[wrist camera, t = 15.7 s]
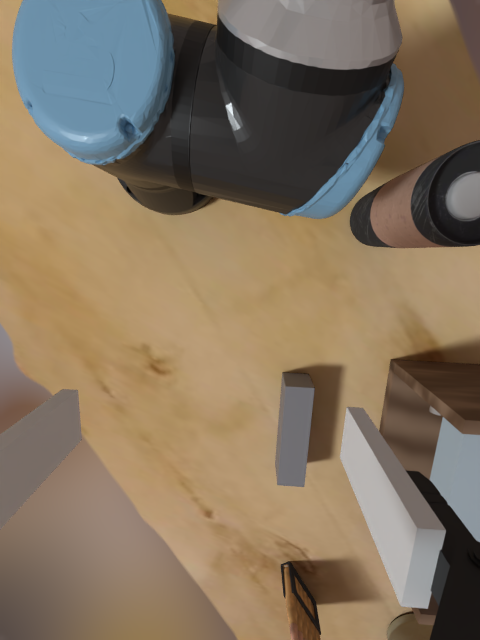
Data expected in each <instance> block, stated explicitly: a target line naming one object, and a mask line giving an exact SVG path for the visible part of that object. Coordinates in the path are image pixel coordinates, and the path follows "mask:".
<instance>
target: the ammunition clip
mask: <svg viewBox="0 0 480 640" xmlns="http://www.w3.org/2000/svg"><path fill="white" fill-rule="evenodd" d="M281 573H282V583H283V594H284V597H285V599H286V608H287V616H288V620H289V627H290V634H291V639H292V640H320V635H321V631H320V624H319V618H318V612H317V606H316V601H315V600H314V598H313V597H312V595H311V594H310V592H309V590H308V589H307V587H306V586H305V584H304V583H303V581H302V580H301V578H300V576H299V575H298V573H297V572H296V570H295V569H294V567H293V565H292V564H291V562H287V563H285V564H282V565H281Z"/></svg>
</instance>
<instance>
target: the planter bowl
mask: <svg viewBox="0 0 480 640" xmlns="http://www.w3.org/2000/svg"><path fill="white" fill-rule="evenodd" d="M432 629H433V625H425V624H418V621H417V619H416V617H415V614H414V613H413V614H407V615H403V616H401V617H398V618H397V619H395V620H394V621H393V622H392V623H391V624H390V626H389V627H388V630H387V638H388V640H430V636H431V633H432Z"/></svg>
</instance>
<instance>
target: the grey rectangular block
mask: <svg viewBox="0 0 480 640" xmlns="http://www.w3.org/2000/svg"><path fill="white" fill-rule="evenodd" d="M314 389H315V388H314V386H313V383H312V381H311V379H310V376H309V374H300V373H283V372H282V385H281V397H280V410H279V422H278V435H277V447H276V460H275V466H276V476H277V485H283V486H297V487H304V484H305V474H306V465H307V455H308V446H309V437H310V427H311V418H312V408H313V399H314Z"/></svg>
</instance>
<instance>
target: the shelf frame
mask: <svg viewBox="0 0 480 640" xmlns="http://www.w3.org/2000/svg"><path fill="white" fill-rule="evenodd" d="M443 417H444V418H445V419H446V420H447V421H448V422H449V423H451V424H452V425H453V426H454V427H455V428H456V429H457V430H458V431H460V432H461V433H462V434H471V435H480V365H478V364H460V363H443V362H425V361H408V360H391V362H390V368H389V374H388V380H387V387H386V393H385V399H384V405H383V411H382V417H381V424H380V430H379V432H380V434H381V435H382V437H383V438H384V440H385V441H386V443H387V444H388V446H389V447H390V448H391V450H392V451H393V453H394V454H395V456H396V457H397V459H398V460H399V462H400V463H401V465H402V466H403V468H404V469H405V470H407V471H419V472H420V473H421V474H423V475H424V476H425V477H426V478H428V479H429V480H430V476H431V471H432V466H433V461H434V457H435V452H436V447H437V442H438V438H439V433H440V428H441V423H442V419H443ZM438 607H439V606H438V604H437V602H436V600H435V598H434V596H433V594H432V593H431V597H430V602H429V606H428V609H425V608H413V607H411V608H412V610H413V612H414V614H415V617H416V619H417V621H418V624H425V625H434V622H435V618H436V615H437V611H438Z"/></svg>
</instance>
